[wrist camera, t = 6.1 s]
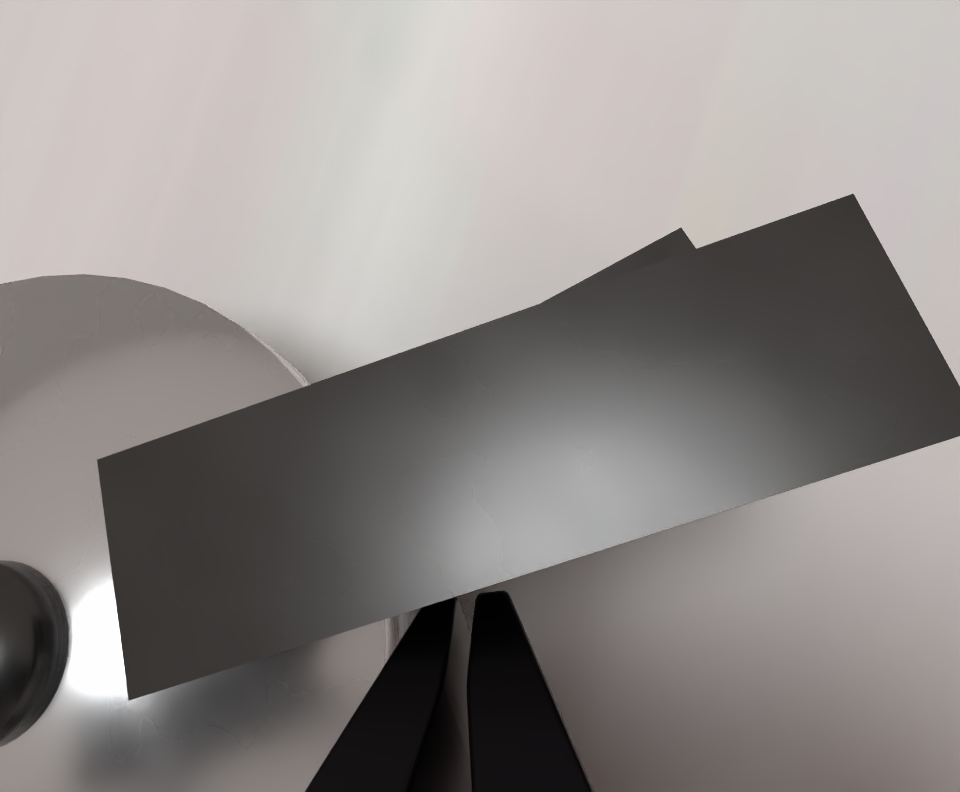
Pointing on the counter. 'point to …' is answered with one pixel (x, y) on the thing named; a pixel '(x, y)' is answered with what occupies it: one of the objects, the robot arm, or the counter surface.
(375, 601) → the lid
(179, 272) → the counter surface
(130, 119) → the counter surface
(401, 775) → the robot arm
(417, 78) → the counter surface
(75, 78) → the counter surface
